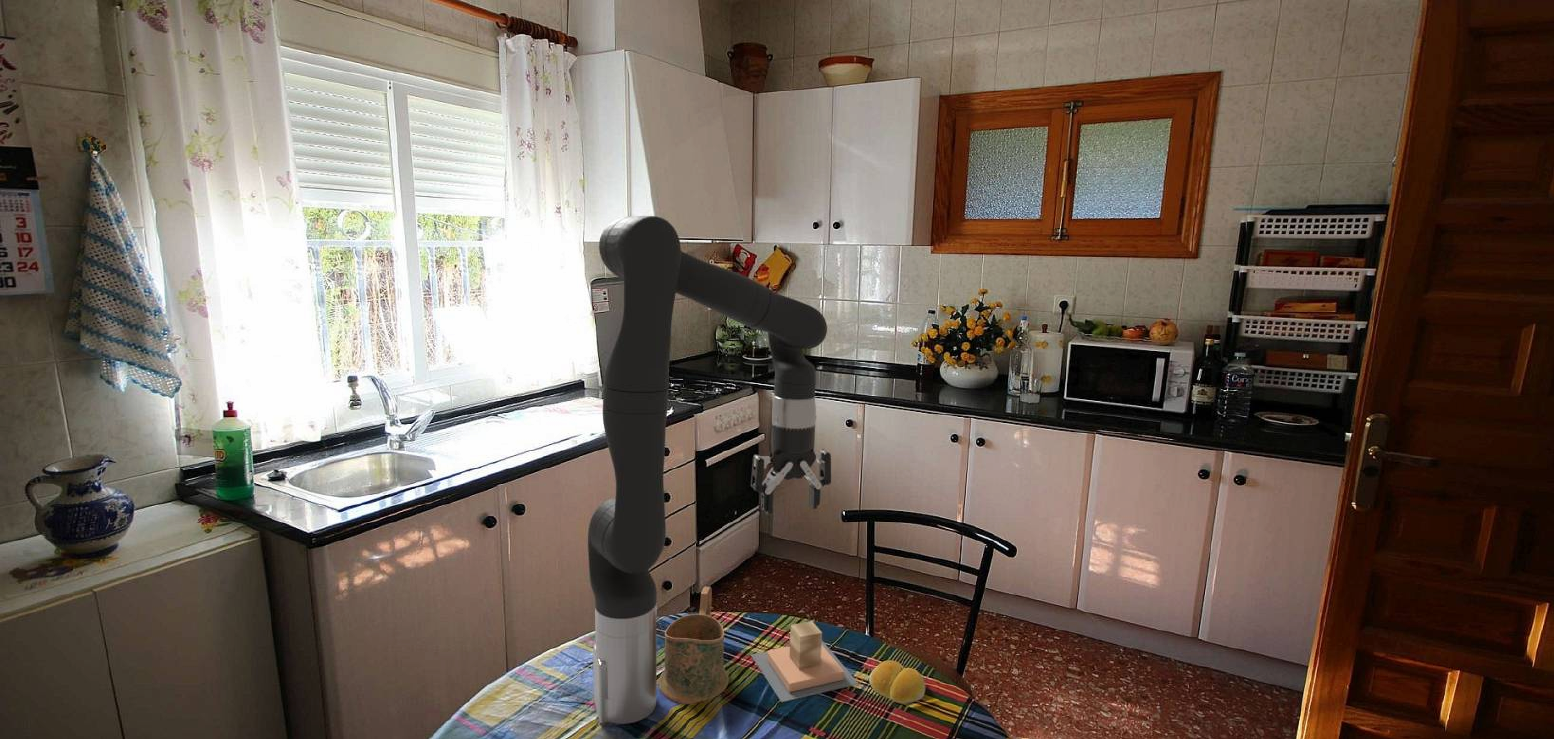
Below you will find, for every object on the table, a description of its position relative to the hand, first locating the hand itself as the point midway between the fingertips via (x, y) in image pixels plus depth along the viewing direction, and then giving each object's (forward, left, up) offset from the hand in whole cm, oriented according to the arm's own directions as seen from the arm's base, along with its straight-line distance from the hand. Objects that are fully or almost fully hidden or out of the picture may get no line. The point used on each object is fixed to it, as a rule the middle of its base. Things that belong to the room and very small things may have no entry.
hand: (790, 510), depth 126 cm
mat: (0, -9, -26) cm, 27 cm away
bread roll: (+12, -18, -26) cm, 34 cm away
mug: (-17, -3, -26) cm, 31 cm away
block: (0, -9, -24) cm, 25 cm away
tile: (0, -4, -24) cm, 25 cm away
